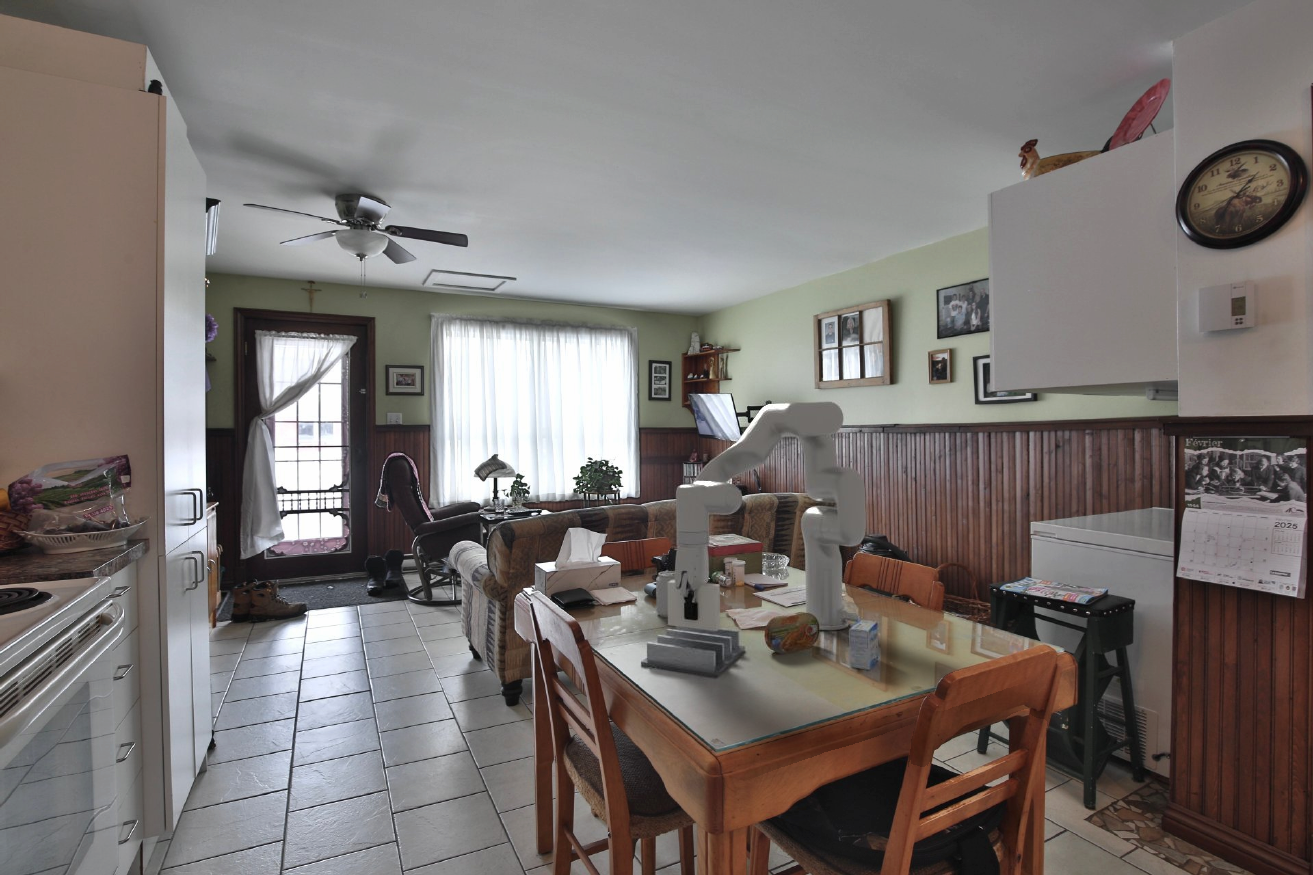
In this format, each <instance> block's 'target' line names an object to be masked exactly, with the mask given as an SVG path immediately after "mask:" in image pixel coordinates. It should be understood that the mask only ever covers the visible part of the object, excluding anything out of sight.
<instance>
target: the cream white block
mask: <svg viewBox="0 0 1313 875" xmlns="http://www.w3.org/2000/svg"><path fill="white" fill-rule="evenodd" d="M667 585H668V617H667V625H668V626H674V627H676V626H680V627H687V628H695V629H703V630H710V631H717V630H719V629H720V628H721V588H720V587H721V584H718V583H717V584H716V583H709V582H707V583H703V584H701V585H700V587H699V588H697V589H696V602H697V603H698V620H696V621H695V620H687V619H685V618H684V602H683V597H682V596H681V595H680V591H681V588H680V589H676V588H675V580H671V581H669V582H667ZM690 587H691V586H688V588H690ZM689 593H691V594H692V592H689Z"/></svg>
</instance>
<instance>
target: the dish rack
mask: <svg viewBox="0 0 1313 875" xmlns="http://www.w3.org/2000/svg"><path fill="white" fill-rule="evenodd" d="M656 638H657V642H653V641H647V643H646V657H645V658H644V659H642V661H641V662H640V667H644V668H649V667H650V668H651V669H656V670H661V671H668V672H673V671H674V672H676V673H679V674H687V675H693V676H700V677H706V678H711V679H716V680H717V679H718V678H719V677H720V676H721V675H722V674H723V673H724V672H725V671H726V670H727V669H728V668H729V667H730V666H731V665H732V664H733V663H734V662H735V661H736V660H738V658H739V657H740V656H742V654H743V653H744V652H745V650H746V647H745V645H740V630H738V629H732V628H731V629H730V628H724V627H720V629H719V630H717V631H710V630H703V629H695V628H687V627H680V626H675V629H673V628H667V629H666V634H665V635H663V634H658V635H657V637H656Z"/></svg>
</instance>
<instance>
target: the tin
mask: <svg viewBox="0 0 1313 875" xmlns="http://www.w3.org/2000/svg"><path fill="white" fill-rule="evenodd" d="M820 631H821V630H820V628H819V623H818V620H817V619H816V617H815V616H814V615H812V614H810V613H806V611H798V612H794V613H789V614H785V615H778V616H774V617H773V618H771V619H770V620H769V621H768V622H767V624H766V625H765V628H764V640H765V644H766V646H767V647H768V649H770V650H772V651H774V652H776V653H777V654H781V655H783V654H790V653H793V652H796V651H801V650H806V649H810V648H811V647H813V646H815V644H816V642H817V641H818V639H819V636H820Z"/></svg>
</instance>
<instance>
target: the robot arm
mask: <svg viewBox="0 0 1313 875" xmlns="http://www.w3.org/2000/svg"><path fill="white" fill-rule="evenodd" d="M843 423H844V413H843V410H842V409H841V407H840V406H839V405H838V404H837V403H835V402H834V401H833V402H832V401H817V402H816V401H815V402H814V401H813V402H810V401H809V402H793V401H791V402H779V403H777V402H776V403H769V404H766V405H765V406H763V407H762V408H761V409H760V410H759V411H758V412H757V414H756V415H755V417H754V418H753V420H751V422H750V424H749V425H748V426H747V427H746V429H745V430H744V432H742V434H741V435H740V437H739V438H738V440H737V441H736V442H735V443H734V444H733V445H731V446H730V447H728V448H726V450H724V451H723V452H721V453H719V454H718V455H717V456H716V457H714V458H713V459H711V460H710V461H709V462H707V464H706V465H704V467H703V468H702V469H701V471H700V472H698V475H697V476H696V477H695V478H694V480H693V482H692V483H688V484H687V483H686V484H681V485H679V486H677V488H676V492H675V499H676V500H675V504H676V505H675V506H676V508H675V509H676V510H675V513H676V514H675V515H676V545H677V546H676V554H675V564H674V565H675V567H674V571H675V588H676V589H680V588H681V591H680V595H681V596H682V597H683V602H684V618H685V619H687V620H695V621H696V620H698V603H697V602H696V589H697V588H699V587H700V585H701V584H703V583H709V582H708V581H709V578H710V577H709V576H710V567H709V566H710V564H709V562H710V561H709V551H708V546H710V515H731V514H733V513H734V514H735V512H737V511H738V510H739V509H740V508H741V506H742V503H743V494H742V491H741V490H740V488H739V487H737V486H736V485H735V484H732V483H730V482H728V481H730V480H731V479H733V478H735V477H737V476H739V475H741V474H744V473H747V472H751V471H753V470H755V469H757V468H760V467H761V466H763V465H764V464H765V463H766V462H767V460H768V458H769V457H770V456H771V454H772V452H773V451H774V450H775V449H776V447H777V446H778V444H779V443H780V441H781V440H782V439H783V438H796V439H797V440H798V442H799V443H800V446H801V447H802V450H803V451H802V452H803V461H804V483H805V485H804V486H805V492H806V494H807V497H808V498H810V499H811V500H813V501H816V502H823V503H833V504H836V507H833V506H827V505H826V506H825V505H814V506H811V507H809V508H806V510H805V511H804V513H803V514H802V517H801V519H800V528H801V533H802V538H803V543H804V555H805V556H804V557H805V558H804V559H805V564H804V565H805V568H804V569H805V572H804V574H805V613H810V614H812V615H814V616H815V617H816V619H817V620H818V623H819V628H820V630H819V631H821V630H822V631H837V630H838V631H839V630H842V629H843V630H844V629H846V628H848V627H849V621H850V622H856V623H857V622H858V621H859V620H860V613H859V614H858V613H857V612H851V611H847V610H846V606H844V605H843V559H842V555H841V551H840V549H839V546H843V547H844V546H845V547H856V546H858V545H860V544H861V543H862V541H863V539H864V538H865V535H866V531H867V530H866V529H867V515H866V513H867V511H866V510H867V508H866V490H865V489H866V488H865V482H864V480H863V477H862V475H861V473H860V472H859V471H857V470H856V469H855V468H852V467H847V466H839V464H838V455H837V446H836V444H835V441H834V439H833V437H832V435H835V434H836V433H838V432H839V431H840V430H841V428H842V426H843ZM688 586H691V587H690V588H688ZM689 592H692V594H691V593H689Z"/></svg>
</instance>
